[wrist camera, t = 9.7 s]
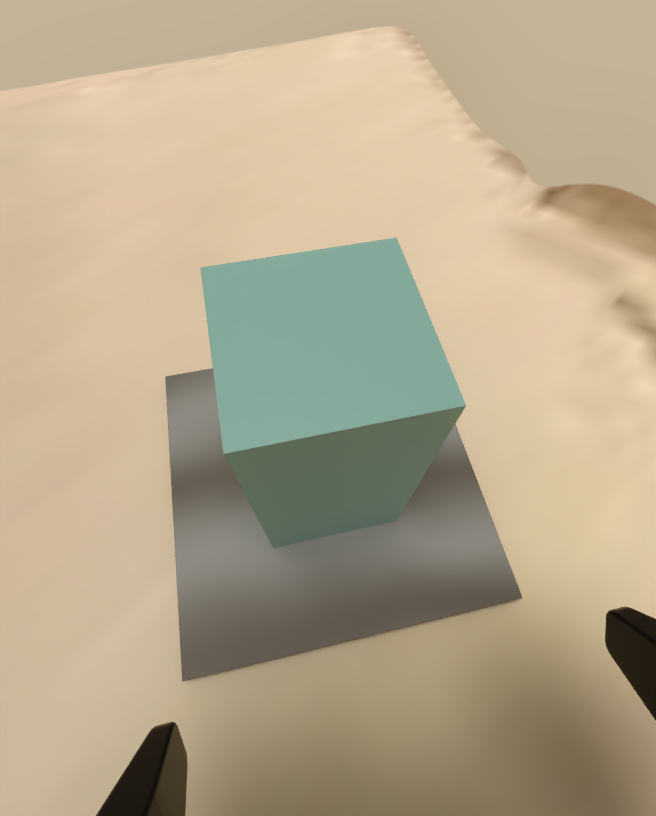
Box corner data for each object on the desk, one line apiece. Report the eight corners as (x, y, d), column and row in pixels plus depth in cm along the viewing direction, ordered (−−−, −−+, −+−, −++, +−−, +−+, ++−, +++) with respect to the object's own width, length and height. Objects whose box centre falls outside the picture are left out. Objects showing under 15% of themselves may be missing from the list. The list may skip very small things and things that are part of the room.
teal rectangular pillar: (396, 520, 20) (465, 405, 10) (273, 548, 19) (223, 453, 10) (364, 412, 23) (396, 237, 13) (254, 433, 22) (200, 267, 12)
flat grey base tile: (516, 599, 19) (569, 587, 15) (186, 680, 18) (145, 691, 14) (418, 339, 25) (436, 281, 21) (169, 382, 24) (137, 329, 20)
